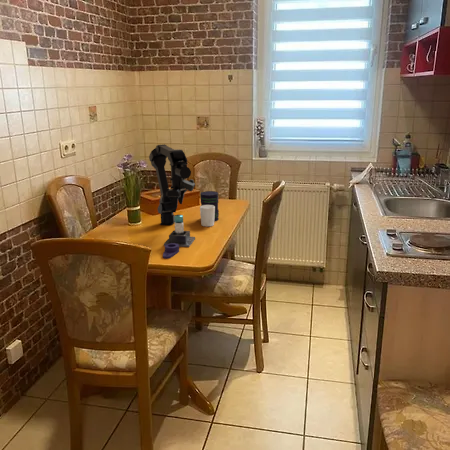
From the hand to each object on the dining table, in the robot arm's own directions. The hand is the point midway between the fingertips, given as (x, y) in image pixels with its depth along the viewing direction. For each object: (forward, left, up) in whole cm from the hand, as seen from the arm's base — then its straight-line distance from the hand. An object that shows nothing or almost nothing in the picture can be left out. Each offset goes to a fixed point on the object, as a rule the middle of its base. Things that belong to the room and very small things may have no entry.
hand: (178, 206), depth 230 cm
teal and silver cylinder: (+5, -17, -12) cm, 21 cm away
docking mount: (+5, -17, -13) cm, 22 cm away
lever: (+5, -33, -14) cm, 36 cm away
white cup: (+12, +13, -13) cm, 22 cm away
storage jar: (+11, +23, -13) cm, 29 cm away
